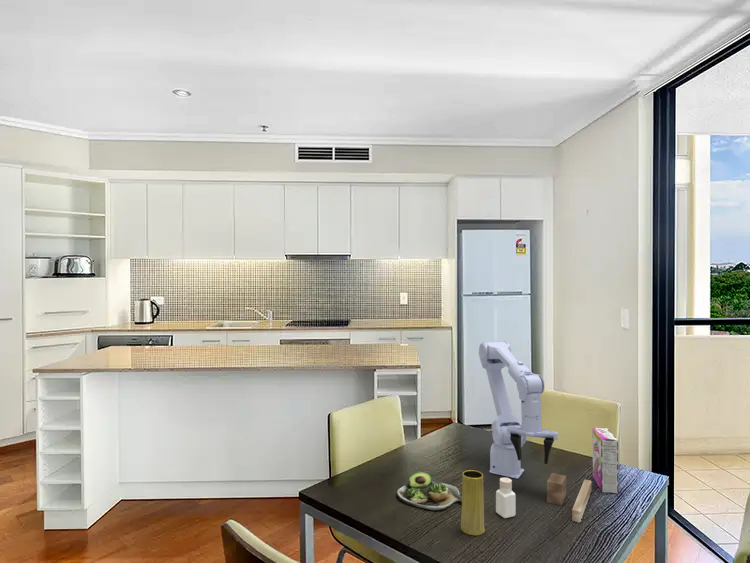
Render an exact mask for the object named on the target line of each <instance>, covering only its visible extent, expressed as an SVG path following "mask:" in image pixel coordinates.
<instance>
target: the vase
mask: <svg viewBox="0 0 750 563" xmlns="http://www.w3.org/2000/svg"><path fill="white" fill-rule="evenodd" d="M461 477H462V478H461V480H462V482H461V484H462V485H461V486H462V487H461V490H462V492H461V496H462V501H461V513H460V514H461V515H460V516H461V518H460V530H461V532H463V533H464V534H466V535H469V536H481V535H482V534H484V533H485V531H486V528H485V509H484V508H485V500H484V494H485V493H484V474H483V473H482V472H481V471H478V470H473V469H468V470H464V471H463V472H462V476H461Z"/></svg>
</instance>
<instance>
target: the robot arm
mask: <svg viewBox="0 0 750 563" xmlns="http://www.w3.org/2000/svg"><path fill="white" fill-rule="evenodd" d="M478 356H479V360H480V364H481V367H482V368H483V369H485V370H486V375H487V380H488V383H489V387H490V392H491V395H492V400H493V404H494V407H495V411H496V415H497V417H496V418H495V419H494V420H493V421H492V422H491V429H492V430H491V434H492V435H491V436H492V440H493V442H492V444H491V447H490V451H489V453H490V454H489V458H490V459H489V464H490V465H489V473H491V474H495V475H499V476H504V477H506V478H511V479H512V478H513V479H517V480H518V479H519V478H520V477H521V476H522V474H523V473H524V471H525V469H524V468H521V464H522V463H521V462H522V461H521V460H522V456H523V455H522V448H523V446H524V444H525V443H526V441H527V439H528V438H527V437H530V438H539V439H544V440H543V448H544V450H543V451H544V457H543V458H544V460H543V461H544V464H545V465H548V464H549V457H550V452H551V450H552V447H553V444H554V441H559V440H558V439H559V432H558V431H554V430H547V429H542V428H543V424H542V396H541V394H543V393H544V391H545V381H544V379H543V377H542V375H541V374H536V373H533V372H532V370H530V369H529V368H528V366H526V364H525V363H524V362H523V361H521V360H517V359H516V357H515V356H514V355H513V353H512V348H511V344H510V343H509V342H508V341H491V342H490V341H488V342H487V341H482V342H481V343H480V345H479V348H478ZM505 367H507V373H508V374H509V376H510V377H511V378H512V380H513V381H514V382H515V384H516V389H517V392H518V398H519V400H520V406H521V407H520V408H521V413H520V414H521V418H519V417H517V416H516V415H515V414H513V411H512V407H511V404H510V403H511V402H510V399H509V395H508V390H507V388H506V384H505V381H504V380H505V379H504V377H503V372H502V369H504V368H505Z"/></svg>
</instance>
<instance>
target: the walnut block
mask: <svg viewBox="0 0 750 563" xmlns="http://www.w3.org/2000/svg"><path fill="white" fill-rule="evenodd" d="M566 497H567V475H563V474H559V473H554V472H551V473H550V476H549V477H548V479H547V480H546V503H550V504H554V505H557V506H562V505H563V503H564V501H565V499H566Z"/></svg>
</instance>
